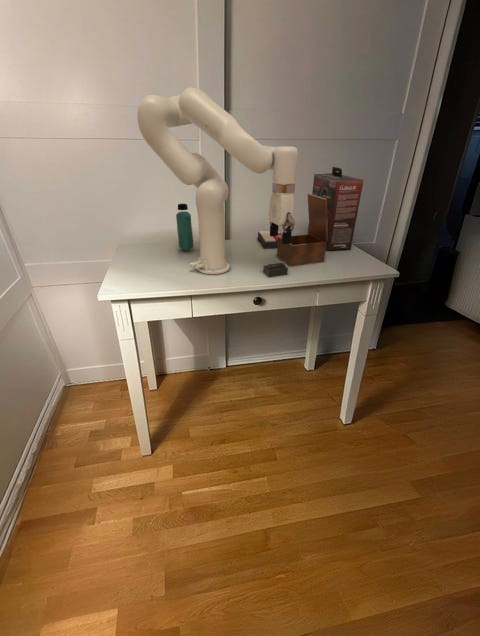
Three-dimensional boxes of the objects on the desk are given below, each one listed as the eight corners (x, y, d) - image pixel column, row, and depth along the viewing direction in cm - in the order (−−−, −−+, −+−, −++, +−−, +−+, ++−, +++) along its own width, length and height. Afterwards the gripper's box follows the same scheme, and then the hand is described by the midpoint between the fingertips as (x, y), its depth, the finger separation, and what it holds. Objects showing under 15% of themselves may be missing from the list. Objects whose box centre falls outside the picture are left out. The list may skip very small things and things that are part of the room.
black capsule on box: (269, 277, 115) (269, 266, 113) (263, 271, 119) (263, 261, 117) (287, 274, 117) (288, 264, 115) (280, 269, 122) (281, 259, 119)
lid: (325, 199, 115) (338, 195, 116) (307, 193, 125) (319, 190, 127) (326, 241, 125) (338, 237, 126) (309, 232, 135) (321, 229, 136)
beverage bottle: (195, 252, 138) (192, 204, 128) (180, 253, 136) (176, 206, 126) (191, 247, 143) (188, 201, 133) (177, 249, 141) (173, 202, 131)
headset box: (305, 236, 161) (314, 164, 144) (328, 234, 163) (339, 164, 146) (326, 251, 140) (339, 170, 123) (351, 250, 142) (367, 170, 125)
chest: (290, 266, 124) (292, 245, 120) (276, 256, 135) (278, 237, 130) (323, 261, 129) (327, 242, 125) (308, 252, 139) (310, 233, 135)
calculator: (264, 240, 141) (257, 230, 153) (264, 249, 143) (257, 238, 155) (288, 239, 142) (279, 229, 155) (287, 248, 145) (278, 237, 157)
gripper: (262, 185, 109) (260, 234, 118) (285, 193, 95) (281, 248, 104) (281, 184, 111) (278, 232, 120) (306, 192, 98) (301, 245, 106)
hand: (279, 239), depth 112 cm, fingers open, 9 cm apart
